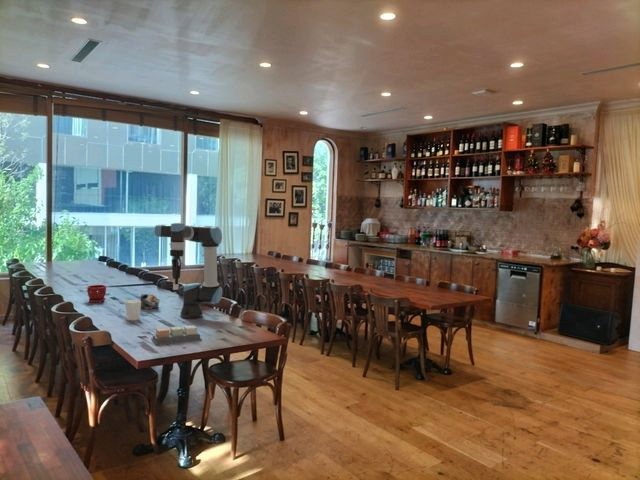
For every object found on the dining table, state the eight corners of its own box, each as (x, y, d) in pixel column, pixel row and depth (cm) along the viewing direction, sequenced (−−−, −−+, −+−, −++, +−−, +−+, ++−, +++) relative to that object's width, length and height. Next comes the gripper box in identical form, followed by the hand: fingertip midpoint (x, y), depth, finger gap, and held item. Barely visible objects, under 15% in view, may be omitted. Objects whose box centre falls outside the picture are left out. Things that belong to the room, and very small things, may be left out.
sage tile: (170, 334, 286) (170, 327, 285) (180, 333, 289) (180, 326, 288) (172, 336, 281) (172, 329, 280) (183, 335, 284) (183, 328, 283)
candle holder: (122, 318, 328) (123, 300, 327) (136, 316, 335) (137, 299, 334) (129, 321, 321) (129, 303, 321) (143, 319, 329) (144, 301, 328)
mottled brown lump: (161, 306, 370) (164, 292, 364) (154, 315, 360) (157, 301, 353) (142, 299, 370) (145, 285, 363) (135, 308, 359) (137, 294, 353)
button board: (151, 339, 283) (151, 333, 283) (195, 335, 297) (195, 329, 296) (155, 344, 273) (155, 339, 273) (201, 340, 286) (201, 334, 286)
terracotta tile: (156, 335, 282) (156, 328, 281) (166, 334, 285) (166, 327, 284) (158, 338, 276) (158, 331, 276) (169, 337, 280) (169, 330, 279)
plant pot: (99, 298, 386) (100, 283, 385) (109, 301, 378) (109, 286, 377) (83, 301, 375) (83, 285, 374) (92, 303, 368) (93, 288, 367)
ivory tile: (183, 332, 290) (184, 326, 289) (193, 331, 293) (194, 325, 292) (186, 335, 285) (186, 328, 284) (196, 334, 288) (197, 327, 287)
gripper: (167, 248, 288) (166, 287, 289) (173, 250, 277) (171, 291, 278) (180, 248, 292) (179, 287, 293) (186, 250, 281) (185, 291, 282)
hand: (175, 289), depth 286 cm, fingers closed
